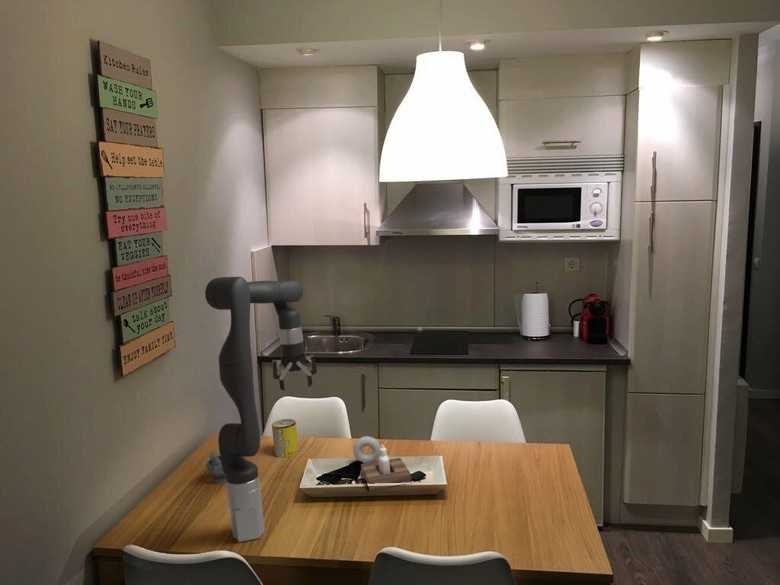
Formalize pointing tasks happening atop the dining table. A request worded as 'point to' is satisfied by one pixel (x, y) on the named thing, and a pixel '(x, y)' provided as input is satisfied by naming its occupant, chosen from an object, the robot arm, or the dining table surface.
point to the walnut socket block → (395, 476)
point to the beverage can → (285, 438)
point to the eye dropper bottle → (383, 461)
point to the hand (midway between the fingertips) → (296, 388)
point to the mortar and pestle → (215, 468)
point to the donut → (362, 443)
